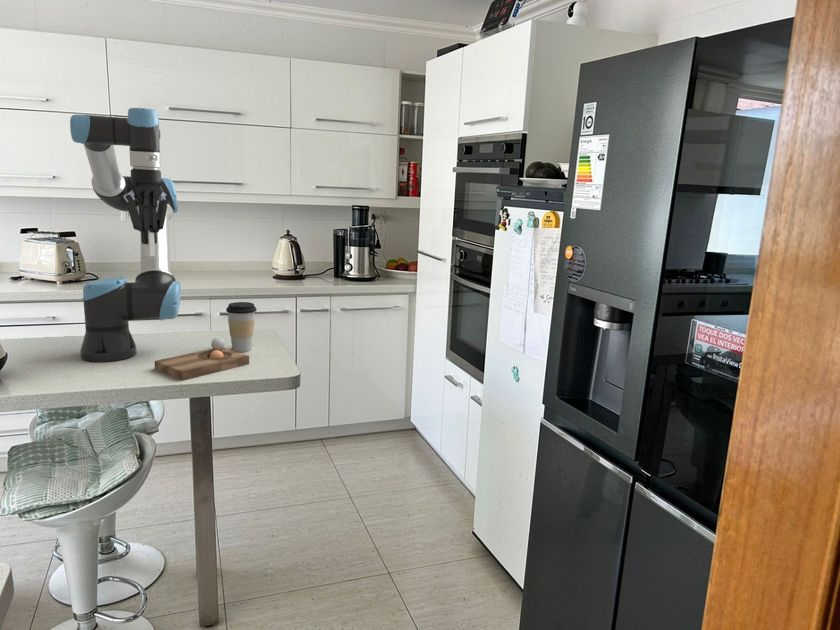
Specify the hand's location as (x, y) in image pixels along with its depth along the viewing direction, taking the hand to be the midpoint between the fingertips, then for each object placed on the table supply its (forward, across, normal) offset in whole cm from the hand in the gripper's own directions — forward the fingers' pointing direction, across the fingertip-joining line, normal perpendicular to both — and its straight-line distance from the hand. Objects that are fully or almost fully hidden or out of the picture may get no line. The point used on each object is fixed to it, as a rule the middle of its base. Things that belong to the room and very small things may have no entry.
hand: (150, 255), depth 170 cm
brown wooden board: (+32, +9, -9) cm, 35 cm away
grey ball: (+28, +18, -5) cm, 33 cm away
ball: (+30, +14, -10) cm, 35 cm away
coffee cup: (+33, +29, -3) cm, 43 cm away
